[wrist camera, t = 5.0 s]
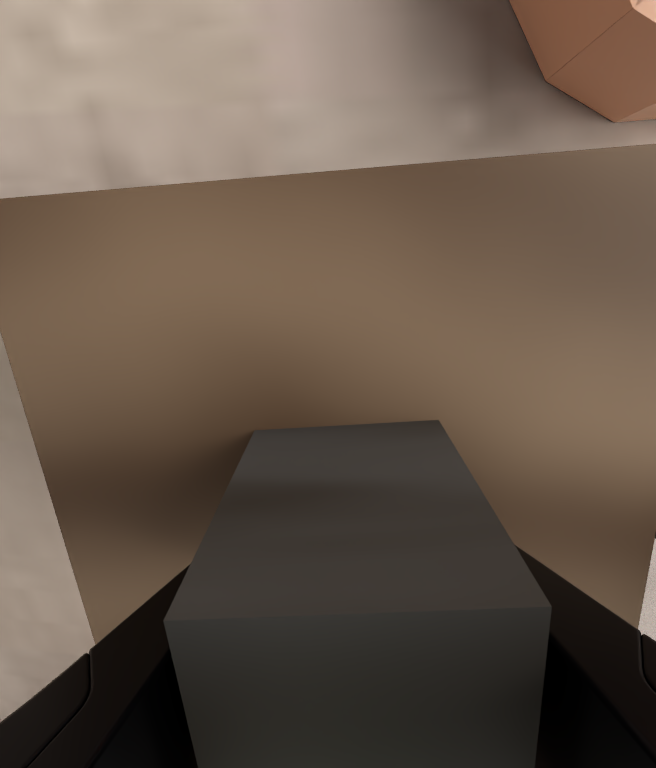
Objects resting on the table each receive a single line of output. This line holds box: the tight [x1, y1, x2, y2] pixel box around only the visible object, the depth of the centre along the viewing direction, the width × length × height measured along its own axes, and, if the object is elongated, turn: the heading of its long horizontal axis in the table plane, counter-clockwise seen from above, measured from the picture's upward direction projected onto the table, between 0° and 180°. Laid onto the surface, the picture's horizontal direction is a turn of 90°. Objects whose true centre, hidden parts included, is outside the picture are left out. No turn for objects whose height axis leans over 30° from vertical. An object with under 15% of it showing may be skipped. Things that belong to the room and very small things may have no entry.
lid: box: [0, 144, 656, 768], centre depth 8 cm, size 14×14×6 cm
